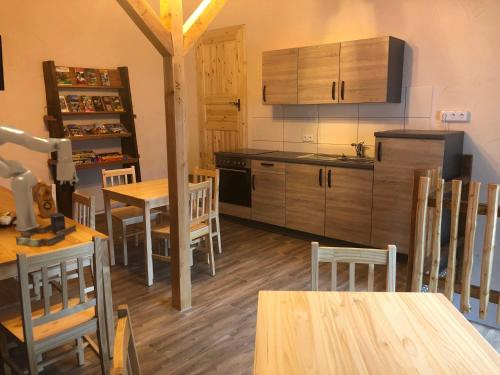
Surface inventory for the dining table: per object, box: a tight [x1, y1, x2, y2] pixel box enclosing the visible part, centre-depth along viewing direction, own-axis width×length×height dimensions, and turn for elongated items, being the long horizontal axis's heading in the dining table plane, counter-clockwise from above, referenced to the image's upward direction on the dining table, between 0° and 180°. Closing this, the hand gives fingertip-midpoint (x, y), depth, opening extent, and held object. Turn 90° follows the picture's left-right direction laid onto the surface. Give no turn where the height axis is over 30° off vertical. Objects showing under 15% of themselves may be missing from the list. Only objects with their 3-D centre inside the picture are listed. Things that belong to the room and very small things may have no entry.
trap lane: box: [15, 223, 77, 248], centre depth 229 cm, size 24×27×4 cm
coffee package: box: [37, 180, 57, 219], centre depth 269 cm, size 10×12×22 cm
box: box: [49, 212, 67, 236], centre depth 236 cm, size 8×6×11 cm
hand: (68, 191), depth 243 cm, fingers open, 5 cm apart
